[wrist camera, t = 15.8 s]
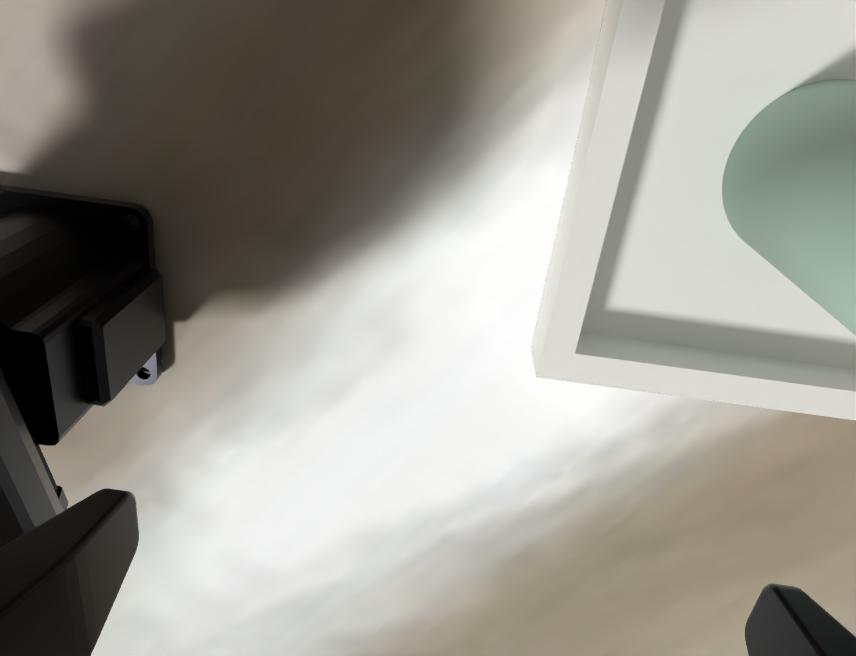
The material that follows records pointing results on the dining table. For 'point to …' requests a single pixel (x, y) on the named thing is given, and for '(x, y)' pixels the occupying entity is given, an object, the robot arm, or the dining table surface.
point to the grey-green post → (801, 191)
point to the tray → (689, 213)
